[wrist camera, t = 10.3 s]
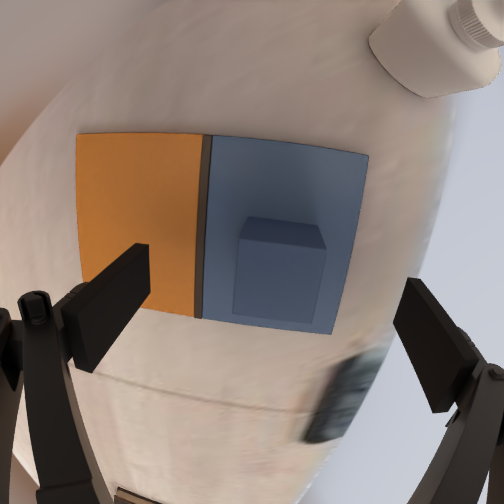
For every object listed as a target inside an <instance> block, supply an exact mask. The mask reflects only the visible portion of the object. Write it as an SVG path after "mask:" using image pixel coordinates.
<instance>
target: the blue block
mask: <svg viewBox="0 0 504 504" xmlns="http://www.w3.org/2000/svg"><path fill="white" fill-rule="evenodd" d="M326 254H327V248H326V245H325V243H324V240H323V237H322V235H321V232H320V229H319V227H318V226H317V225H311V224H303V223H296V222H288V221H280V220H272V219H264V218H256V217H248V218H247V220H246V223H245V225H244V227H243V230H242V232H241V234H240V236H239V239H238V248H237V259H236V271H235V283H234V294H233V306H232V314H233V315H240V316H248V317H255V318H263V319H271V320H279V321H287V322H296V323H305V324H311V323H312V321H313V316H314V312H315V308H316V303H317V298H318V294H319V289H320V284H321V280H322V275H323V270H324V265H325V260H326Z"/></svg>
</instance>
